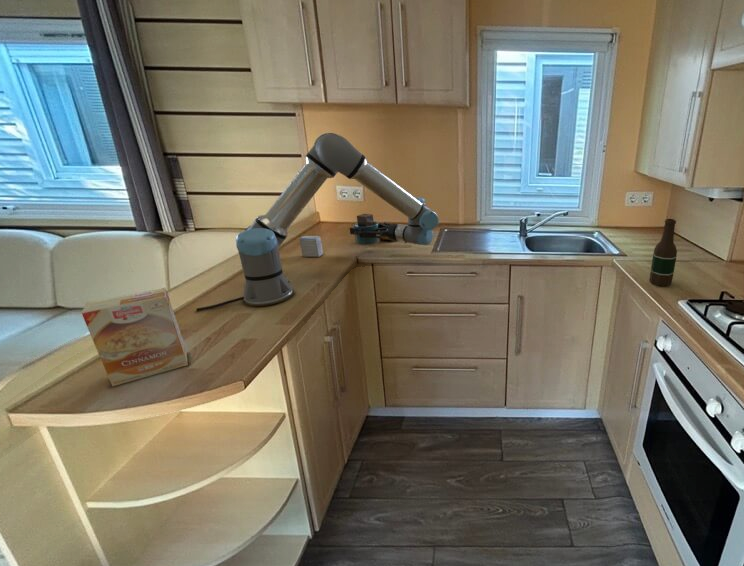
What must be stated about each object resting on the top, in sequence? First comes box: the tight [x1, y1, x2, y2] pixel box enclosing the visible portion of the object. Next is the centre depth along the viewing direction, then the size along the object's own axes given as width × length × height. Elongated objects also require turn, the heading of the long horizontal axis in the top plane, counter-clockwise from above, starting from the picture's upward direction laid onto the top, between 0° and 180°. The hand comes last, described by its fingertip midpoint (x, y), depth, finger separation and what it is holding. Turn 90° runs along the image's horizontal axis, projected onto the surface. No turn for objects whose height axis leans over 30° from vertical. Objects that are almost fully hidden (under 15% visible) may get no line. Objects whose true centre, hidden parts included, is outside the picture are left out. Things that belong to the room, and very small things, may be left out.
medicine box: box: [298, 235, 324, 258], centre depth 182 cm, size 8×4×9 cm, turn 84°
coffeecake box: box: [81, 287, 188, 387], centre depth 98 cm, size 15×7×20 cm, turn 126°
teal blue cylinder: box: [352, 220, 381, 246], centre depth 183 cm, size 11×11×8 cm
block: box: [356, 213, 374, 227], centre depth 181 cm, size 5×5×5 cm
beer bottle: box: [649, 218, 678, 288], centre depth 146 cm, size 8×8×24 cm
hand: (359, 227), depth 184 cm, fingers closed on teal blue cylinder, 11 cm apart
